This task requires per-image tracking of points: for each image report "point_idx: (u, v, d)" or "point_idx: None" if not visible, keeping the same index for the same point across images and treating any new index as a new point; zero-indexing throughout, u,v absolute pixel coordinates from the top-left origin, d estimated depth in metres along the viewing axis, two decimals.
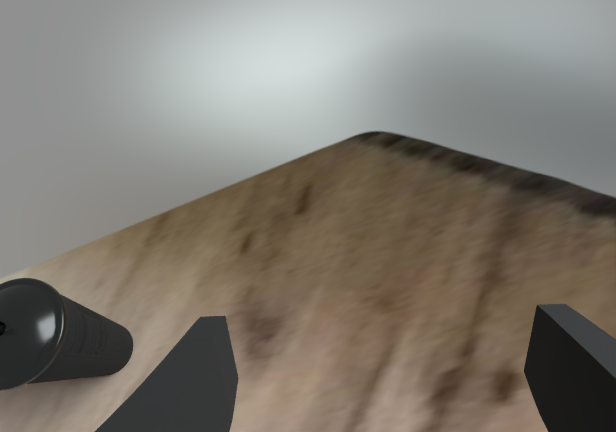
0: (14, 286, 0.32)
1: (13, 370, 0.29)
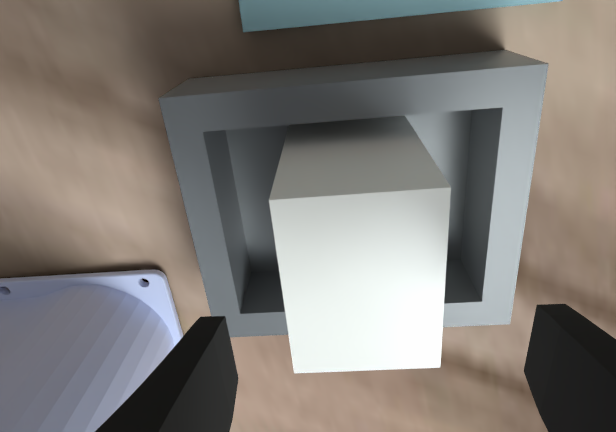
0: None
1: None
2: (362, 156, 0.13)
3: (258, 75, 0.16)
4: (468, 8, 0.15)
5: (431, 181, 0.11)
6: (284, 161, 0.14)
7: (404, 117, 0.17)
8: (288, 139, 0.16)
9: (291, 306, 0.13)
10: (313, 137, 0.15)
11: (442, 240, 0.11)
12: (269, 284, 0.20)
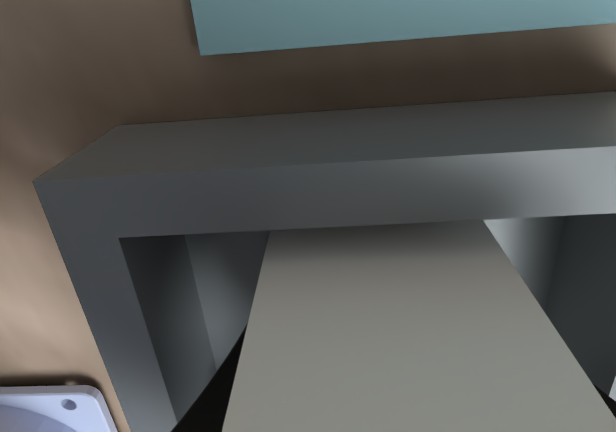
0: None
1: None
2: (409, 309, 0.07)
3: (226, 126, 0.10)
4: (588, 22, 0.09)
5: None
6: (261, 311, 0.07)
7: None
8: (273, 240, 0.09)
9: None
10: (317, 237, 0.09)
11: None
12: None
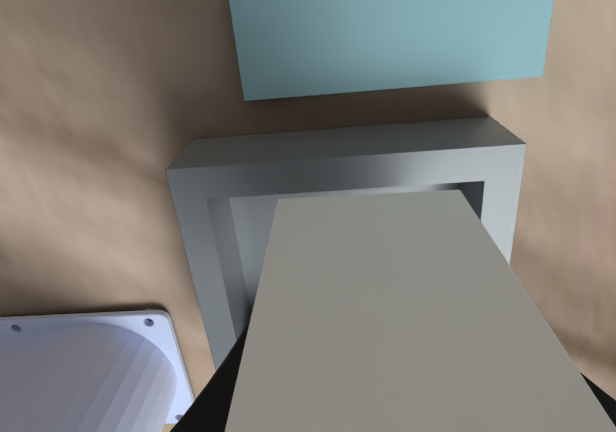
0: None
1: None
2: (408, 305, 0.07)
3: (258, 139, 0.17)
4: (454, 82, 0.16)
5: (580, 426, 0.05)
6: (263, 307, 0.07)
7: (460, 195, 0.11)
8: (275, 238, 0.09)
9: None
10: (317, 235, 0.09)
11: None
12: None
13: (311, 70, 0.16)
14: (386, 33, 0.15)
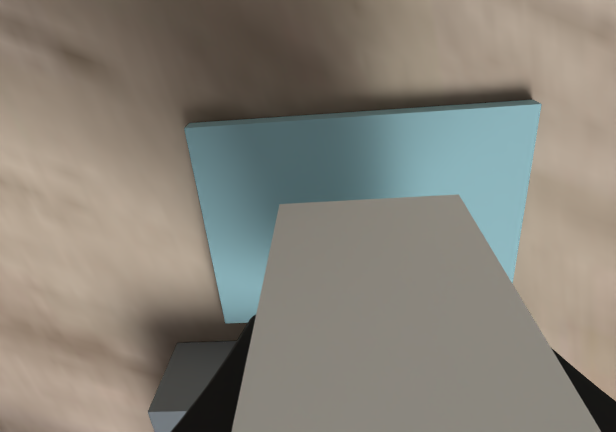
0: None
1: None
2: (406, 314, 0.07)
3: None
4: None
5: None
6: (265, 316, 0.08)
7: (459, 200, 0.11)
8: (276, 245, 0.10)
9: None
10: (318, 242, 0.09)
11: None
12: None
13: None
14: None
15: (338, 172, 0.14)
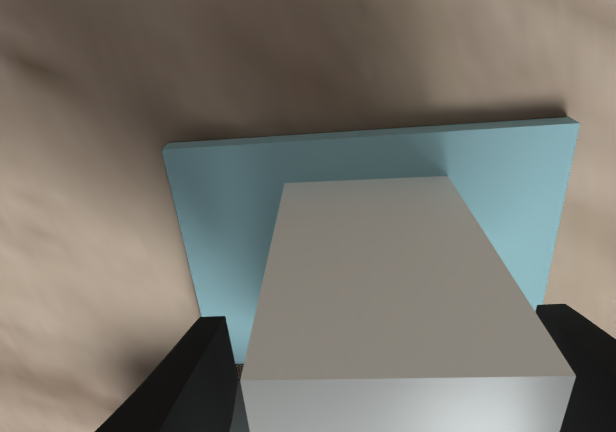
0: None
1: None
2: (397, 266, 0.08)
3: None
4: None
5: (533, 351, 0.06)
6: (273, 268, 0.09)
7: (448, 180, 0.12)
8: (282, 215, 0.11)
9: None
10: (320, 213, 0.11)
11: None
12: None
13: None
14: None
15: None
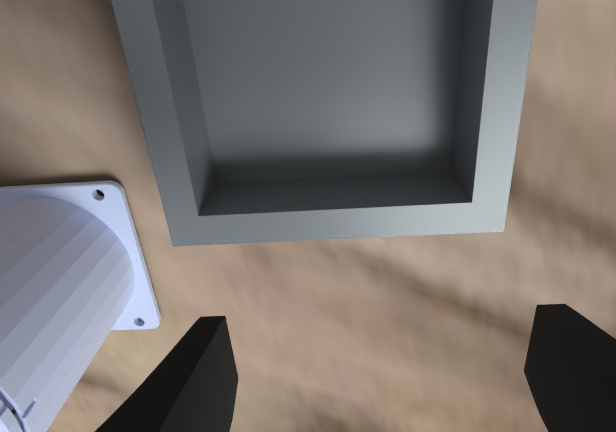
0: None
1: None
2: None
3: None
4: None
5: None
6: None
7: None
8: None
9: None
10: None
11: None
12: (235, 192, 0.17)
13: None
14: None
15: None
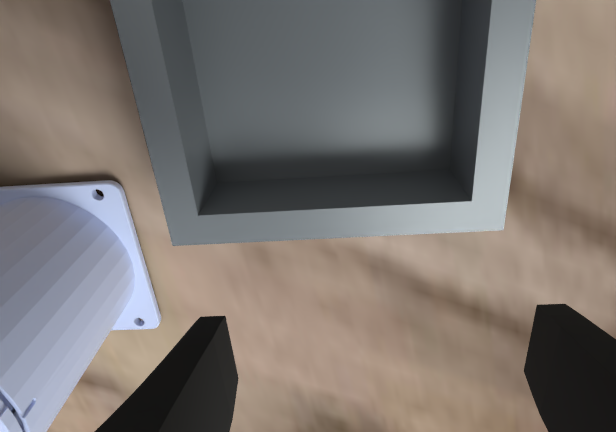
0: None
1: None
2: None
3: None
4: None
5: None
6: None
7: None
8: None
9: None
10: None
11: None
12: (235, 191, 0.17)
13: None
14: None
15: None
